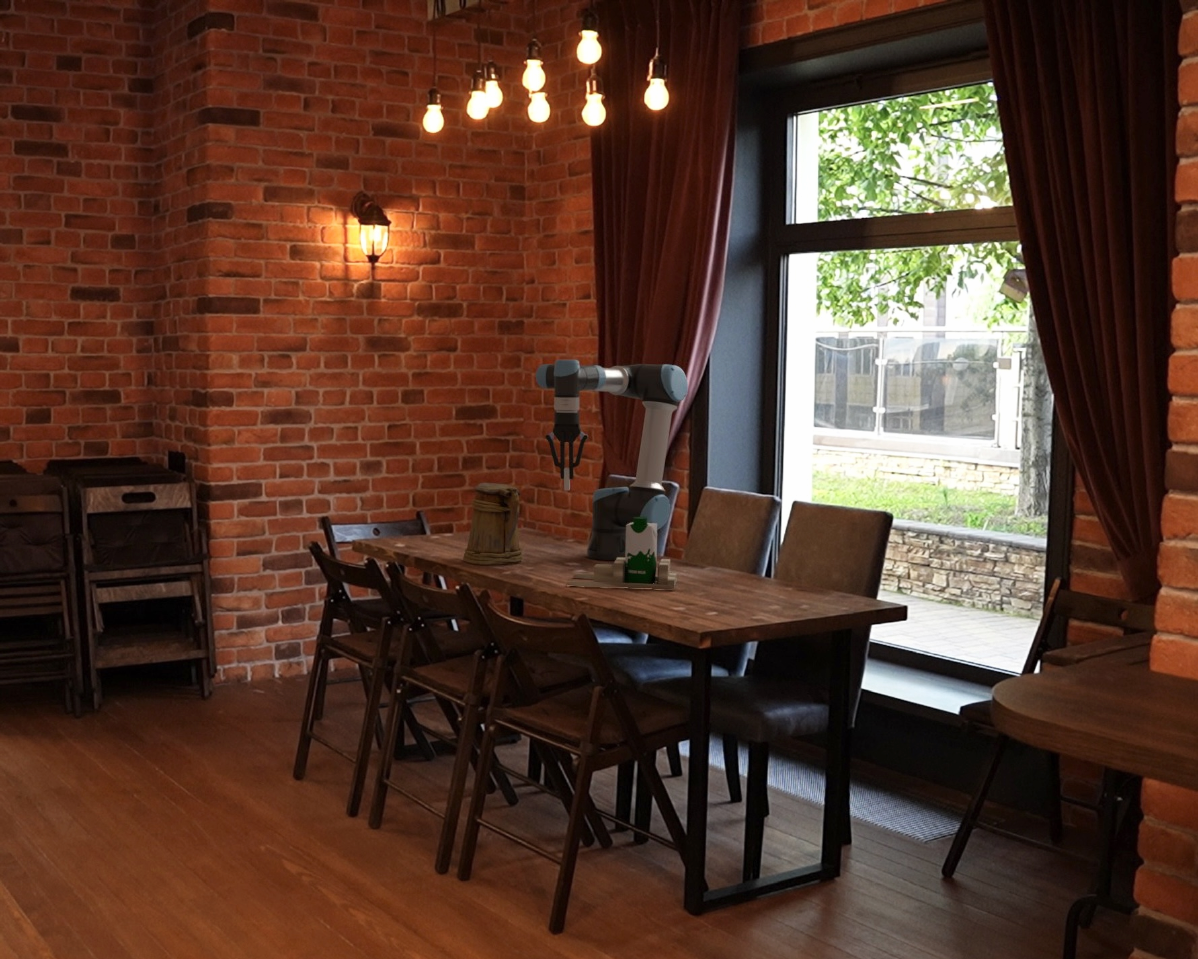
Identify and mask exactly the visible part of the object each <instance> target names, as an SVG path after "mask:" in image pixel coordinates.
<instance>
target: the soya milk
mask: <svg viewBox="0 0 1198 959" xmlns="http://www.w3.org/2000/svg"><path fill="white" fill-rule="evenodd" d="M657 555H658V530H657V523H647V518H646V517H634V519H633V522H632V523H629V524H627V525H626V551H625V576H626V583H640V584H653V583H655V584H656V582H655V576H657V575H656V573H657V564H658V563H657V561H658V559H657V558H658V556H657Z"/></svg>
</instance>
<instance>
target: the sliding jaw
mask: <svg viewBox="0 0 1198 959" xmlns="http://www.w3.org/2000/svg"><path fill="white" fill-rule="evenodd" d="M593 574H594V579H593V582H613V583H626V576H625V557H617V559H616V560H614V562H613V564H600V563H599V564H597V563H596V564H595V565H594V566H593Z"/></svg>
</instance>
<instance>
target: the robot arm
mask: <svg viewBox="0 0 1198 959" xmlns="http://www.w3.org/2000/svg"><path fill="white" fill-rule="evenodd" d="M535 380H536V383H537V385H538V387H540V388H542V389H548V390H550V389H551V390H554V394H553V395H554V402H553V403H554V404H553V409H554V414H553V415H554V418H553V419H554V420H553V423H554V424H553V425H554V426H553V428H552V431H551V432H550V433H547V434H546V435H545V439H546V441H547V442H548V444H549V449H550V453H551V457H552V460H553V465H554V467H557V468H559V469H560V479H561V480H563V483H564V484H563V490H564V491H570V489H571V480H573V479H574V476H575V475H574V471H575V470H574V469H575V468H577V467H579V466H580V463H581V460H582V456H583V452H584V447H585V443H586V441H587V440H588V438H589V435H588V434H586V433H584V432H583V431H582V428H581V426H580V412H579V411H580V391H590V392H593V391H594V392H607V393H609V394H611V395H613V396H622V397H626V398H631V399H636V400H637V399H638V400H642V401H641V404H642V405H643V407H644V408H645V413H644V419H643V420H644V421H643V428H642V435H641V440H640V448H639V455H638V462H637V469H636V476H635V481H634V482H633V483H632V484H630V485H629V487H628V486H621V487H618V486H617V487H609V488H608V487H607V488H606V487H605V488H600V489H596V490H594V492H593V494H592V495H593V496H592V497H593V498H592V502H591V503H592V533H591V536H590V539H589V542H588V546H587V549H586V557H587V558H589V559H593V560H603V561H604V560H606V561H615V560H616V559H617V557H625V551H626V525H627V524H629V523H632V522H633V519H634V517H646V518H647V523H657V531H658V530H659V529H660V530H661V528H662V527H663V526H665V524H666V523H667V522H668V520H669V517H670V513H671V503H670V500H669V498H668V497H667V496H666V489H664V486H663V485H662V484H663V477H664V472H665V471H664V470H665V462H666V456H667V451H668V450H667V449H668V444H669V434H670V429H671V423H672V414H673V412H674V411H676V410H678V405H679V402H681V401H683V400H685V398H686V396H688V395H687V394H688V391H689V390H688V389H689V388H688V387H689V384H688V379H687V376H686V374H685V372H684V370H683V369H682V368H681V367H680V366H678V365H675V364H673V365H672V364H667V363H665V364H650V363H649V364H647V363H646V364H645V363H635V364H629V365H614V366H611V367H602V366H601V365H597V364H587V365H586V364H583V365H582V364H580V361H579V360H578V359H557V360H555V361H554V364H552V363H548V364H541V365H539V367H538V368H537V370H536V373H535ZM578 437H579V440H580V442H579V446H578V451H577V454H576V458H574V456H575V455H574V453H575V451H574V446H575V443H574V442H575V441H576V440H577V439H578ZM555 438H556V439H557V441H558V442H559V447H560V448H559V449H560V451H559V453H560V455H559V456H560V457H559V458H560V461H559V458H558V454H557V450H556V446H555V441H554V439H555ZM566 443H568V467H566ZM574 459H575V461H574Z"/></svg>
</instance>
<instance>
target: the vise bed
mask: <svg viewBox="0 0 1198 959" xmlns="http://www.w3.org/2000/svg"><path fill="white" fill-rule="evenodd" d="M572 576H573V577H572V579H573V578H584V579H583V580H584V581H581V580H579V581H577V580H567V582H566V586H567V585H574V586H584V587H583V588H585V587H628V588H652V589H675V590H676V586H677V583H676V582H677V581H678V571H671V558H661V559H660V561H659V563H658V564H657V575H655V581H657V582H656V583H655V584H640V583H613V582H594V581H585V580H594V573H585V572H581V573H580V572H574V573H573V575H572ZM675 585H676V586H675Z"/></svg>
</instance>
